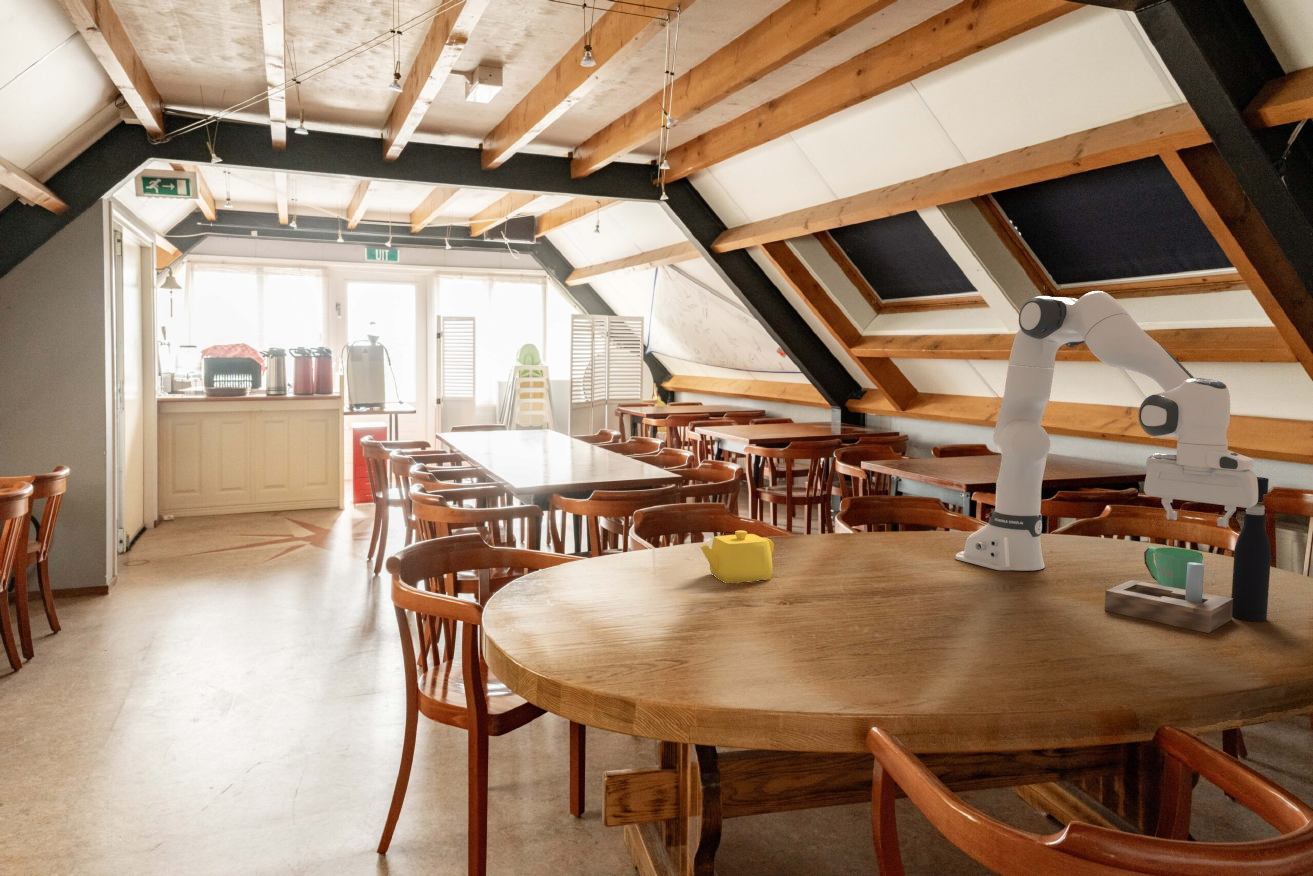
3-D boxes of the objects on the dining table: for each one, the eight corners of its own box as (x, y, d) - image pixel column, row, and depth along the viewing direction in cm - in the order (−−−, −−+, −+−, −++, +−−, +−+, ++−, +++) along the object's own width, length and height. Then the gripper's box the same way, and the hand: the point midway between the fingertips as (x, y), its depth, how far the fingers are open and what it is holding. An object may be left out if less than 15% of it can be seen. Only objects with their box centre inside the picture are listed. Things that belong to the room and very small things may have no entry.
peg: (1172, 619, 180) (1175, 563, 178) (1182, 614, 183) (1186, 559, 182) (1202, 625, 175) (1205, 568, 174) (1212, 620, 179) (1216, 564, 178)
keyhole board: (1104, 610, 186) (1105, 590, 185) (1130, 599, 195) (1131, 579, 194) (1208, 633, 171) (1210, 611, 170) (1231, 619, 180) (1233, 598, 179)
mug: (1211, 598, 195) (1214, 555, 194) (1174, 600, 193) (1177, 557, 192) (1162, 582, 210) (1164, 542, 209) (1127, 584, 208) (1129, 544, 207)
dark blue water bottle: (1256, 623, 177) (1265, 480, 174) (1223, 615, 182) (1232, 477, 180) (1273, 619, 180) (1282, 478, 177) (1240, 611, 185) (1249, 475, 183)
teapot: (709, 587, 205) (710, 539, 204) (691, 574, 217) (691, 529, 216) (784, 580, 212) (784, 533, 211) (762, 568, 223) (762, 524, 222)
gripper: (1141, 453, 182) (1136, 517, 183) (1253, 463, 166) (1248, 532, 167) (1152, 451, 186) (1148, 514, 187) (1263, 460, 170) (1258, 529, 171)
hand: (1196, 523), depth 177 cm, fingers open, 8 cm apart
